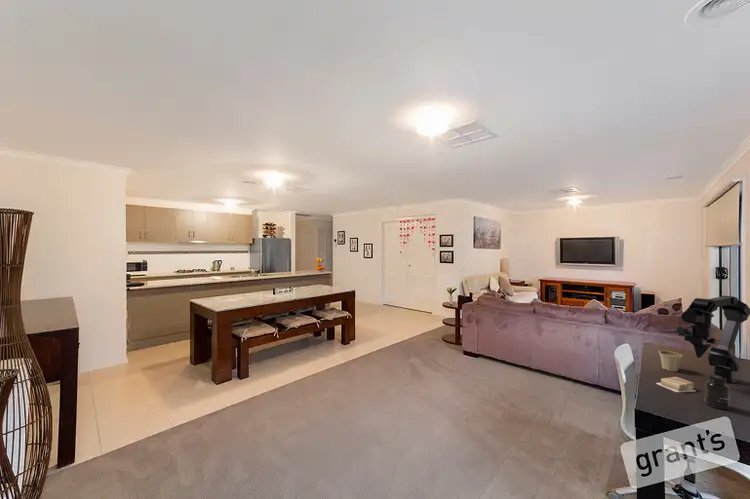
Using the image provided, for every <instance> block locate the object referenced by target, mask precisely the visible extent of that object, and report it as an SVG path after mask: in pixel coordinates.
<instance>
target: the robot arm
mask: <svg viewBox="0 0 750 499" xmlns="http://www.w3.org/2000/svg"><path fill="white" fill-rule="evenodd" d="M718 308H721V309H722V311H723V315H724V317H725V319H726V320H725V322H724V323H725V324H724V326H723V329H722V332H721V335H720V339H719V341H718V345H717V340H716V339H715V337H711V332H712V331H713V328H712V318H714V317H715V315H714V314H713V312H716V311H717V310H718ZM680 316H681V319H682V321H683V322H685V323H687V324H692V325H691V326H690V327H689V328H685V327H684V326H677V328H676V330H675V332H676V333H677V336H680V337H684V338H683V340H684V341H686V342H689V343H691V345H693V348H694V351H695V352H694V353H695V356H696V357H697V358H699V359H701V358H702V357H703V355H704V354H705V353H706V352H707V351H708V349H709V348H710V351H709V353H708V356H707V358H708V363H709V366H713V367H714V370H713V371H714V373H713V375H717V376H721V377H724V378H726V382H727V383H726V384H734V383H735V384H736V383H737V384H738V382H737V381H736V380H734V372H739V369H740V365H739V364H738V363H737V361H736V355H735V354H734V352H733V349H734V345H735V342H736V339H737V336H738V333H739V329H740V326H741V324H742V323H744V322H745V321H748V319H749V316H750V307H749V305H747V303H745V302H743V301H741V300H739V299H738V297H735V296H732V295H721V296H717V297H712V298H703V297H702V298H701V297H696V298H694V299H693V300H692V302H691V303H690V304H689V305H688V308H686V311H684V312H682V314H681V315H680ZM712 345H717V346H715V347H714V346H712ZM711 346H712V347H711Z"/></svg>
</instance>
